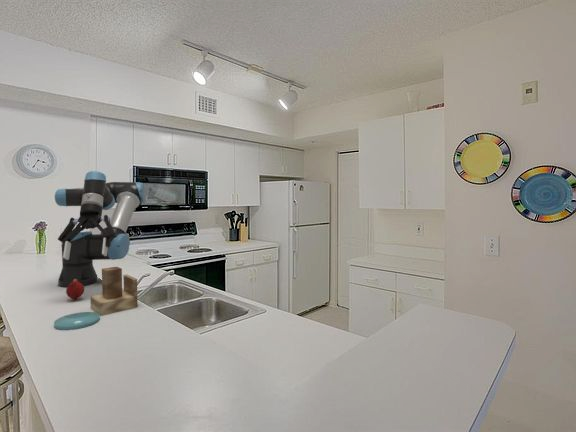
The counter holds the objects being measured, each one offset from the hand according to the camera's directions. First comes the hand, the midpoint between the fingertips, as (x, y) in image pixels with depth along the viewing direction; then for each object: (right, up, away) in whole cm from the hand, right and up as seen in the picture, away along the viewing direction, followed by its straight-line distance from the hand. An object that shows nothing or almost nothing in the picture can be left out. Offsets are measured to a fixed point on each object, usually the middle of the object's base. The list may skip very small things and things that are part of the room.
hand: (85, 256), depth 124 cm
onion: (-5, -17, +2) cm, 18 cm away
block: (+14, -13, -7) cm, 20 cm away
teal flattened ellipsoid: (+10, -18, -21) cm, 29 cm away
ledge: (+14, -17, -7) cm, 23 cm away
